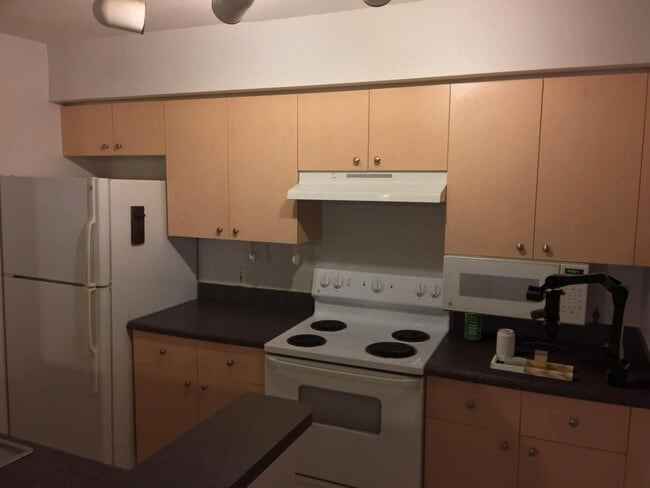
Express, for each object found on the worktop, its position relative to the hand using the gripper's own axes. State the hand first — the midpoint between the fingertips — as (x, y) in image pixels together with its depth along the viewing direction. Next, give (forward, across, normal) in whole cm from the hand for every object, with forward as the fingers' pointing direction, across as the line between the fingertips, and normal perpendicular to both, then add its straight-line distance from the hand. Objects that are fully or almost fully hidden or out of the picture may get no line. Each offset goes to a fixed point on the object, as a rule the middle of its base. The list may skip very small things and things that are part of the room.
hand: (550, 340), depth 220 cm
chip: (+12, +7, -11) cm, 18 cm away
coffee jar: (+12, -28, -36) cm, 47 cm away
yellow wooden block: (+11, +7, -3) cm, 14 cm away
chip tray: (+12, +7, -16) cm, 21 cm away
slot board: (+12, +7, 0) cm, 14 cm away
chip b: (+12, +7, -15) cm, 21 cm away
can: (+12, -8, -19) cm, 24 cm away
